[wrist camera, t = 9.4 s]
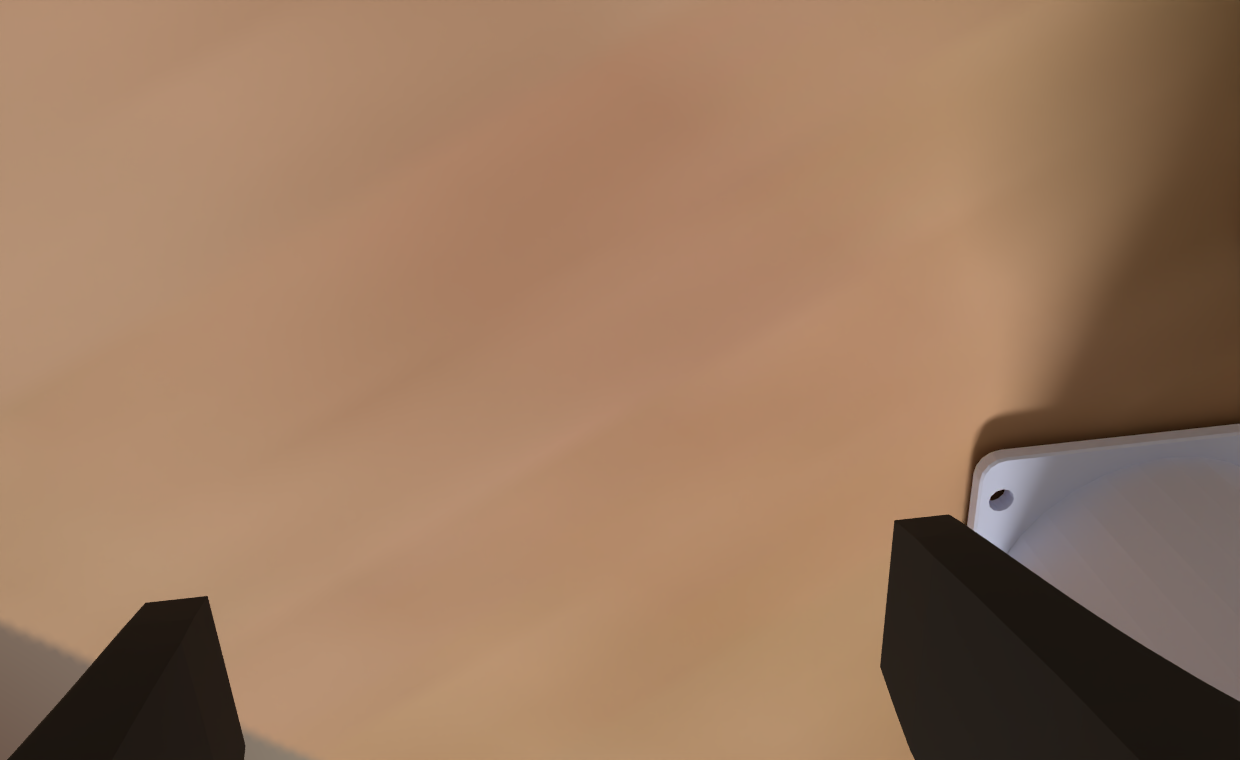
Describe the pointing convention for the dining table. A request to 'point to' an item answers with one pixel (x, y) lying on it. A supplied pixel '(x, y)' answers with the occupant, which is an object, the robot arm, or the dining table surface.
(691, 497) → the dining table surface
